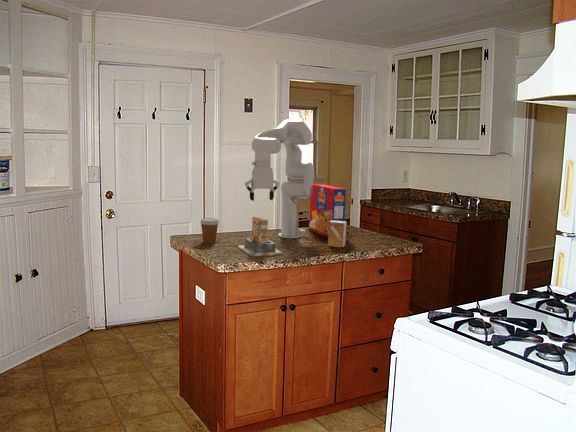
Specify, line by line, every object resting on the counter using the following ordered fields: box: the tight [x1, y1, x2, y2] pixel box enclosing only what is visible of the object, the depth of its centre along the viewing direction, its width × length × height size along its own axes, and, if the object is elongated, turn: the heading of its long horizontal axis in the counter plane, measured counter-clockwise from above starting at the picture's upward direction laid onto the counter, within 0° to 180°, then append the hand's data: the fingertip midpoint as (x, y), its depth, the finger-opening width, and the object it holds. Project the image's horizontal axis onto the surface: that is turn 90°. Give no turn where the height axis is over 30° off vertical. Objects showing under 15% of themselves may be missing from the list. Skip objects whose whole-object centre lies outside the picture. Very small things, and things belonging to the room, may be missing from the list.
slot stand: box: [237, 237, 283, 257], centre depth 269 cm, size 16×20×5 cm
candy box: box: [251, 216, 269, 244], centre depth 268 cm, size 9×4×15 cm, turn 33°
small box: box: [327, 220, 348, 248], centre depth 288 cm, size 8×6×13 cm
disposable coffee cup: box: [200, 217, 220, 245], centre depth 284 cm, size 10×10×12 cm
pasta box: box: [308, 183, 347, 238], centre depth 322 cm, size 28×8×28 cm, turn 24°
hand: (261, 200), depth 266 cm, fingers open, 9 cm apart
